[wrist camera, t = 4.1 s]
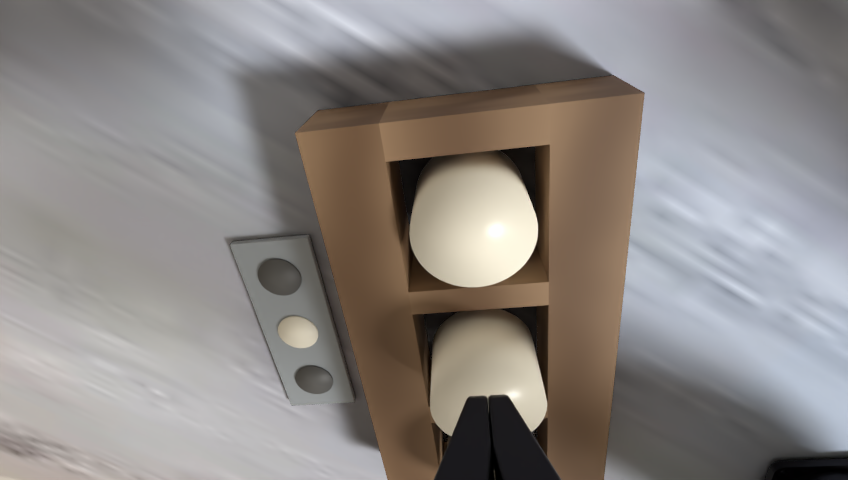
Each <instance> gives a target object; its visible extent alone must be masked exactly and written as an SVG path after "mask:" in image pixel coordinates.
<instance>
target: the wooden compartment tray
mask: <svg viewBox="0 0 848 480" xmlns="http://www.w3.org/2000/svg"><path fill="white" fill-rule="evenodd" d="M643 102H644V92H642V91H640V90H638V89H637V88H635V87H633V86H631V85H630V84H628V83H626V82H624V81H623V80H621V79H619V78H617V77H616V76H614V75H611V76H603V77H594V78H586V79H578V80H569V81H561V82H552V83H544V84H536V85H527V86H519V87H511V88H502V89H494V90H485V91H477V92H469V93H460V94H452V95H443V96H435V97H427V98H418V99H410V100H402V101H393V102H385V103H376V104H368V105H360V106H351V107H343V108H334V109H326V110H318V111H317V112H316V113H315V114H314V115H313V116H312V117H311V118H310V119H309V120H308V121H307V122H306V123H305V124H304V125H303V126H302V127H301V128H300V129H298V130H297V131H296V132H295V135H296V139H297V143H298V146H299V150H300V154H301V158H302V161H303V165H304V169H305V173H306V176H307V180H308V184H309V187H310V191H311V195H312V199H313V202H314V206H315V210H316V214H317V217H318V221H319V225H320V229H321V232H322V236H323V240H324V244H325V247H326V251H327V255H328V258H329V262H330V266H331V270H332V273H333V277H334V281H335V285H336V288H337V292H338V296H339V300H340V303H341V307H342V311H343V315H344V318H345V322H346V326H347V329H348V333H349V337H350V341H351V344H352V348H353V352H354V356H355V359H356V363H357V367H358V371H359V374H360V378H361V382H362V386H363V389H364V393H365V397H366V400H367V404H368V408H369V412H370V415H371V419H372V423H373V427H374V430H375V434H376V438H377V442H378V445H379V449H380V453H381V457H382V460H383V464H384V468H385V471H386V475H387V479H388V480H434V478H435V475H436V473H437V470H438V468H439V466H440V463H441V461H442V458H443V456H444V453H445V451H446V448H447V442H444V440H443V433H442V430H441V429H440V428H439V426H438V425H437V424H436V423H435V421H434V419H433V417H432V415H431V411H430V392H431V370H432V360H431V359H430V352H429V346H428V340H427V334H426V327H425V321H424V315H423V314H428V313H443V312H457V311H471V310H485V309H500V308H514V307H528V306H536V325H537V354H536V356H537V360H538V364H539V369H540V373H541V377H542V382H543V386H544V390H545V394H546V399H547V411H546V414H545V417H544V419H543V420H542V422H541V423H540V425H539V426H538V427H537V438H535V439H536V440H537V442H538V443H539V445H540V447H541V448H542V450H543V451H544V453H545V454H546V456H547V458H548V459H549V461H550V462H551V464H552V466H553V467H554V469H555V470H556V472H557V474H558V475H559V477H560V478H561V480H604V473H605V463H606V454H607V444H608V435H609V425H610V416H611V406H612V397H613V387H614V378H615V368H616V359H617V349H618V340H619V330H620V321H621V311H622V302H623V292H624V283H625V273H626V264H627V254H628V245H629V235H630V226H631V216H632V207H633V197H634V188H635V178H636V169H637V159H638V150H639V140H640V131H641V121H642V112H643ZM531 146H535V209H536V218H537V222H538V237H537V242H536V245H535V248H534V251H533V253H532V254H531V256H530V258H529V259H528V261H527V262H526V263H525V265H524V266H523V267H522V268H521V269H520V270H518V271H517V272H516V273H515V274H513V275H512V276H510V277H509V278H507V279H505V280H503V281H501V282H498V283H496V284H493V285H488V286H483V287H461V286H456V285H452V284H449V283H446V282H444V281H441V280H439V279H438V278H436V277H434V276H433V275H432V274H430V273H429V272H428V271H427V270H426V269H425V268H424V267H423V266H422V265H421V264H420V263H419V261H418V260H417V258H416V256H415V255H414V252H413V250H412V247H411V243H410V235H409V232H410V227H409V221H408V215H407V209H406V203H405V196H404V190H403V184H402V178H401V171H400V165H399V160H407V159H417V158H426V157H436V156H445V155H455V154H464V153H474V152H483V151H493V150H502V149H512V148H521V147H531Z"/></svg>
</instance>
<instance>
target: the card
mask: <svg viewBox="0 0 848 480" xmlns="http://www.w3.org/2000/svg"><path fill="white" fill-rule="evenodd" d="M230 247H231V250H232V252H233V255H234V257H235V260H236V263H237V265H238V268H239V270H240V273H241V276H242V278H243V281H244V283H245V286H246V289H247V291H248V294H249V296H250V299H251V302H252V304H253V307H254V309H255V312H256V315H257V317H258V320H259V322H260V325H261V328H262V330H263V333H264V335H265V338H266V341H267V343H268V346H269V348H270V351H271V354H272V356H273V359H274V361H275V364H276V367H277V369H278V372H279V374H280V377H281V380H282V382H283V385H284V388H285V390H286V393H287V395H288V398H289V401H290V403H291V406H295V405H315V404H334V403H354V402H355V395H354V391H353V387H352V384H351V380H350V377H349V373H348V370H347V366H346V363H345V359H344V356H343V352H342V349H341V345H340V342H339V338H338V335H337V331H336V327H335V324H334V320H333V317H332V313H331V310H330V306H329V303H328V299H327V296H326V292H325V289H324V285H323V282H322V278H321V275H320V271H319V267H318V264H317V260H316V257H315V253H314V250H313V246H312V243H311V239H310V236H309V235H299V236H288V237H276V238H265V239H254V240H243V241H232V243H231V244H230Z"/></svg>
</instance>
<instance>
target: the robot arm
mask: <svg viewBox="0 0 848 480" xmlns="http://www.w3.org/2000/svg"><path fill="white" fill-rule="evenodd" d="M488 406H489V407H488ZM494 474H495V475H494ZM434 480H561V478H560V477H559V475H558V474H557V472H556V470H555V469H554V467H553V466H552V464H551V462H550V461H549V459H548V458H547V456H546V454H545V453H544V451H543V450H542V448H541V447H540V445H539V443H538V442H537V440H536V439H535V437H534V435H533V434H532V432H531V431H530V429H529V428H528V426H527V424H526V423H525V421H524V420H523V418H522V416H521V415H520V413H519V412H518V410H517V409H516V407H515V405H514V404H513V402H512V401H511V399H510V398H509V396H508V395H505V394H502V395H490V396H489V397H488V398H487V397H486V396H484V395H482V396H469V397H468V398H467V399H466V402H465V404H464V407H463V409H462V412H461V414H460V416H459V419H458V421H457V424H456V426H455V429H454V431H453V434H452V436H451V439H450V441H449V443H448V446H447V448H446V451H445V453H444V456H443V458H442V461H441V463H440V466H439V468H438V470H437V473H436V475H435V478H434ZM765 480H848V459H822V460H793V461H777V462H775V463H773V464H771V466H770V467H769V470H768V473H767V475H766V478H765Z"/></svg>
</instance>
